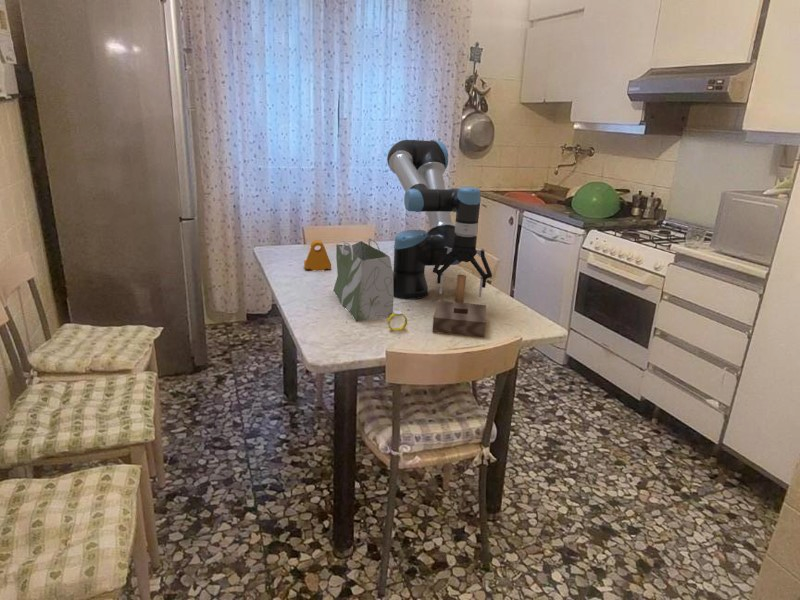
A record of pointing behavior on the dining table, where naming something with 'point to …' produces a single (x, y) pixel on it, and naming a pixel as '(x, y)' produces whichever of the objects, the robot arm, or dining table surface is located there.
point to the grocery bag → (364, 281)
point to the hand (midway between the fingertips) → (460, 294)
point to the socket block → (460, 319)
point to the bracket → (317, 257)
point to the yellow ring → (397, 313)
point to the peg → (460, 288)
